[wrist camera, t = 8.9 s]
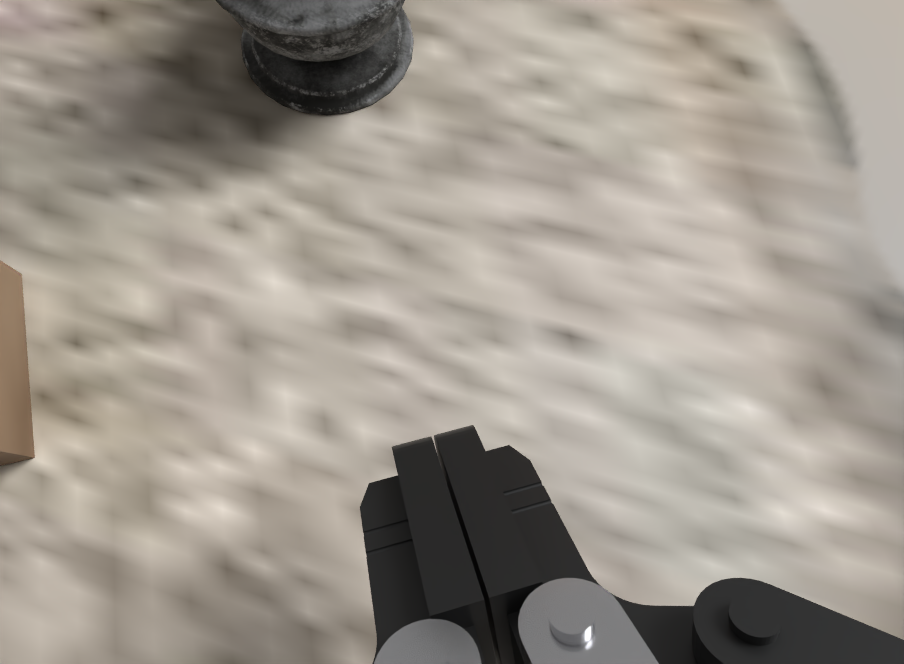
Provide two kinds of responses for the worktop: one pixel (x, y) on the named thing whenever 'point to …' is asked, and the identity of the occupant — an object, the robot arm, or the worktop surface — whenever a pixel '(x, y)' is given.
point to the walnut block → (14, 372)
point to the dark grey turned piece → (324, 50)
